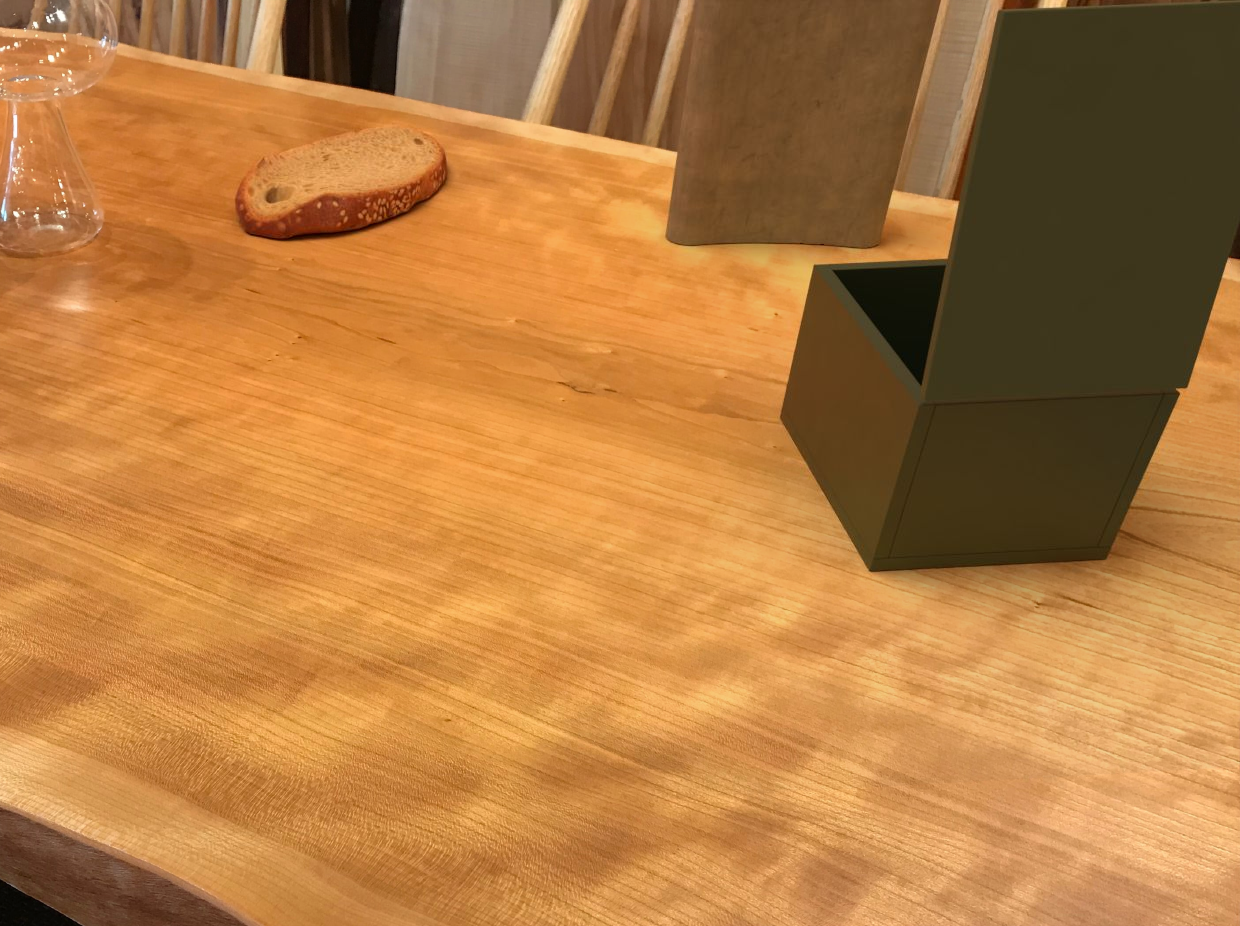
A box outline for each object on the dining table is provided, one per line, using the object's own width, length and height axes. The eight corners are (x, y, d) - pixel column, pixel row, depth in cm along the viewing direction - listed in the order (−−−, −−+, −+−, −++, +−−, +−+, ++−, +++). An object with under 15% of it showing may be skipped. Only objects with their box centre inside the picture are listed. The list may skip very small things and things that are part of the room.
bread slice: (438, 147, 115) (439, 103, 112) (467, 230, 101) (469, 183, 99) (234, 158, 114) (231, 114, 112) (236, 243, 101) (232, 195, 98)
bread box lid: (997, 9, 53) (1004, 10, 53) (1300, -3, 53) (1310, -2, 53) (918, 396, 62) (924, 401, 61) (1180, 384, 62) (1187, 388, 61)
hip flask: (667, 244, 99) (709, -50, 86) (662, 223, 102) (702, -65, 89) (883, 248, 97) (960, -50, 84) (872, 226, 100) (944, -65, 87)
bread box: (779, 417, 80) (813, 264, 73) (982, 407, 80) (1034, 254, 74) (869, 571, 68) (919, 405, 62) (1106, 559, 68) (1181, 393, 62)
